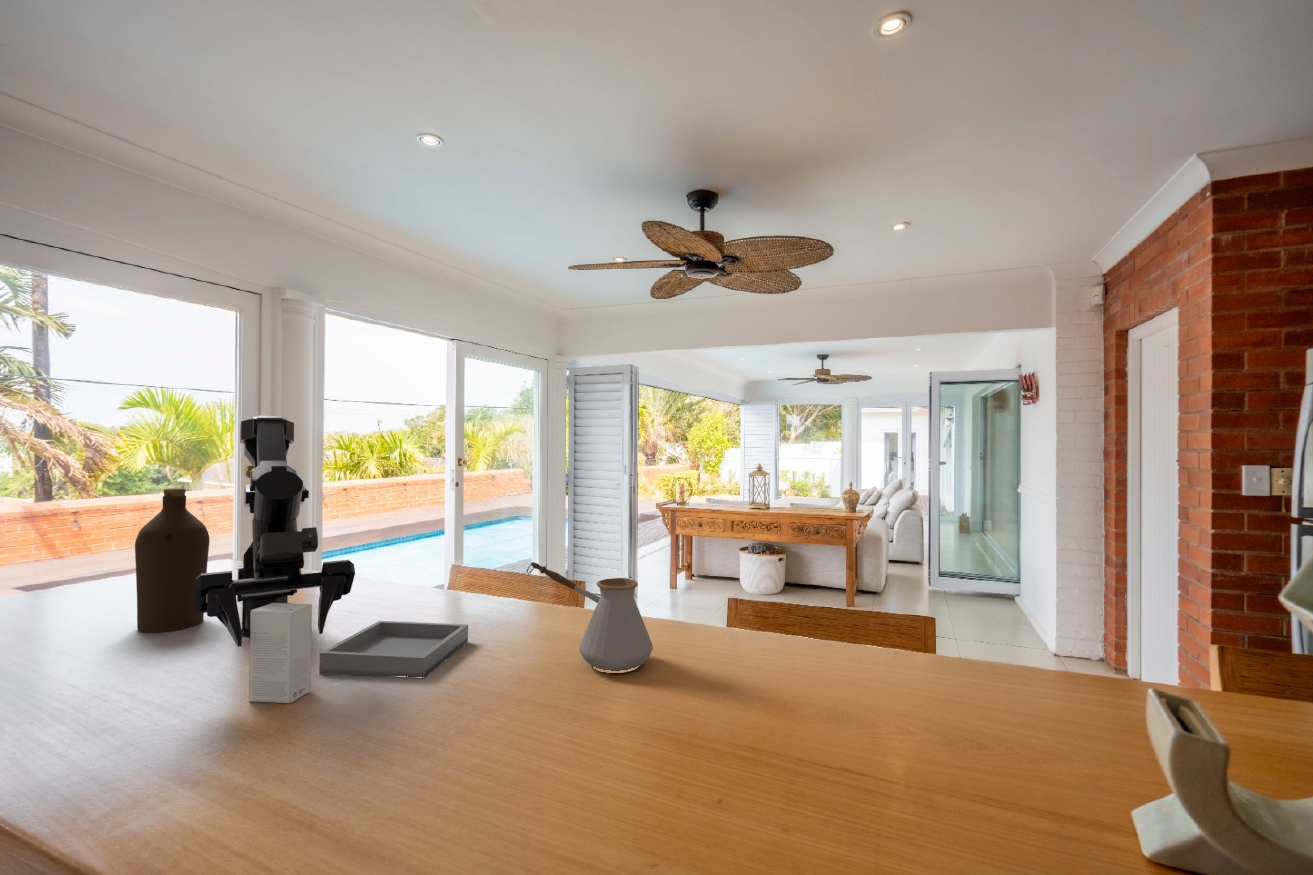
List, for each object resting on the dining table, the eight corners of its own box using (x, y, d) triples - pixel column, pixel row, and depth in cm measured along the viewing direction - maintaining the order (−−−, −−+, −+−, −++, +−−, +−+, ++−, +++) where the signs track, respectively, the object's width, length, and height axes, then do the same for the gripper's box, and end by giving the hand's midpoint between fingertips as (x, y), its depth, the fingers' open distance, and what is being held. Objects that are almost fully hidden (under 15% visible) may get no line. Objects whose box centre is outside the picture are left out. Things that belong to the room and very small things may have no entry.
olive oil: (219, 621, 111) (222, 488, 111) (150, 637, 101) (153, 491, 102) (189, 613, 116) (192, 485, 116) (121, 628, 106) (124, 488, 107)
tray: (319, 673, 87) (319, 652, 87) (378, 637, 103) (379, 620, 103) (423, 678, 86) (424, 657, 86) (467, 642, 102) (468, 624, 102)
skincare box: (312, 691, 81) (314, 603, 81) (289, 704, 77) (291, 612, 77) (270, 688, 82) (272, 601, 82) (246, 701, 78) (248, 610, 78)
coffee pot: (661, 656, 96) (662, 564, 97) (639, 683, 85) (640, 579, 86) (543, 642, 103) (544, 555, 103) (508, 665, 92) (510, 568, 92)
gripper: (197, 512, 78) (193, 617, 69) (354, 505, 89) (368, 594, 80) (196, 563, 84) (193, 664, 75) (343, 550, 95) (355, 637, 86)
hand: (282, 638), depth 79 cm, fingers open, 9 cm apart
